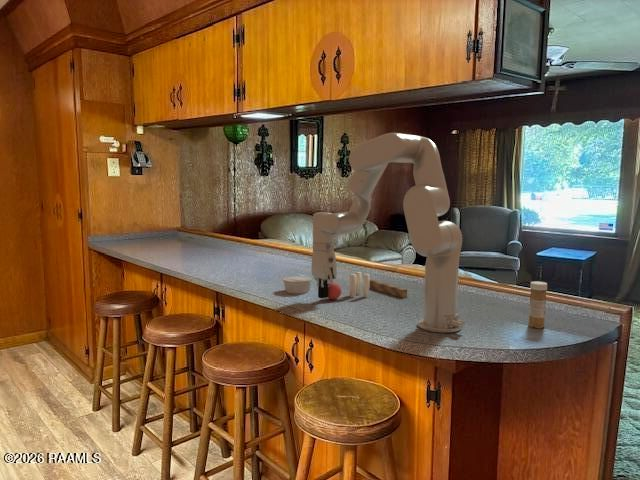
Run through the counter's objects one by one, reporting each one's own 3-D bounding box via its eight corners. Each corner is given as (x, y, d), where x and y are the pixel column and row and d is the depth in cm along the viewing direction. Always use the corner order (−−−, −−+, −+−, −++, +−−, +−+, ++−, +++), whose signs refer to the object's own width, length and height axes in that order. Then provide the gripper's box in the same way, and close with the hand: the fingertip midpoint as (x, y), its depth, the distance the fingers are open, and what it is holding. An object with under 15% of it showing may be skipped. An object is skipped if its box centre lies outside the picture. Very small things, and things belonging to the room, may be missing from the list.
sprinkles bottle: (532, 323, 148) (534, 280, 146) (547, 326, 145) (550, 282, 143) (525, 326, 145) (527, 282, 143) (540, 329, 142) (543, 284, 140)
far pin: (362, 294, 185) (362, 272, 184) (357, 295, 184) (357, 273, 183) (358, 293, 187) (359, 271, 186) (353, 293, 186) (353, 272, 185)
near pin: (370, 297, 181) (370, 274, 180) (365, 297, 180) (365, 275, 179) (366, 295, 183) (366, 273, 182) (361, 296, 182) (361, 274, 181)
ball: (331, 297, 172) (342, 302, 176) (335, 281, 174) (346, 286, 178) (319, 296, 177) (330, 300, 181) (324, 280, 178) (334, 285, 182)
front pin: (357, 297, 181) (357, 274, 180) (352, 297, 180) (352, 275, 179) (353, 295, 183) (353, 273, 182) (348, 296, 182) (348, 274, 181)
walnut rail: (406, 297, 181) (407, 289, 181) (402, 297, 180) (403, 290, 180) (370, 286, 200) (370, 279, 199) (366, 286, 199) (366, 279, 198)
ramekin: (282, 294, 185) (282, 281, 184) (284, 288, 196) (284, 275, 195) (311, 294, 185) (311, 281, 184) (312, 288, 196) (312, 275, 195)
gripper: (344, 248, 168) (343, 300, 170) (320, 244, 180) (320, 292, 183) (326, 250, 164) (325, 303, 166) (303, 245, 176) (303, 294, 178)
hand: (323, 297), depth 174 cm, fingers closed
